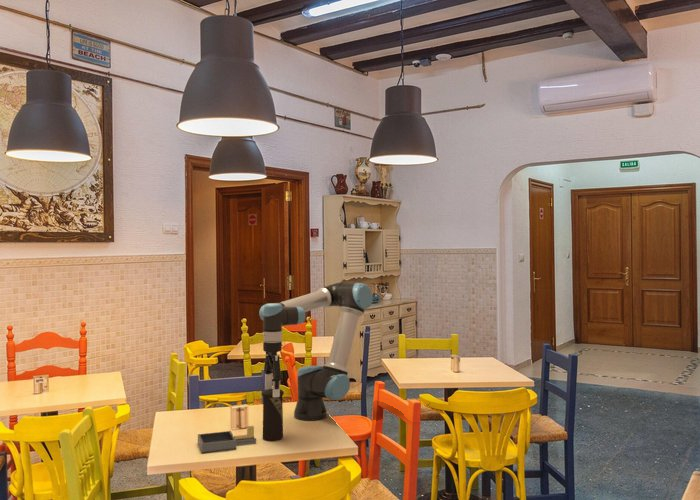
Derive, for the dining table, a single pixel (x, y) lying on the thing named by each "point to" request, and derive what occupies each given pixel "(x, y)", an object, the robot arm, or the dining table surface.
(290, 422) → the dining table surface
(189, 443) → the dining table surface
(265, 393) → the container
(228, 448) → the dock cradle
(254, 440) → the pin rail
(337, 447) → the dining table surface
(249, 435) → the tan block
